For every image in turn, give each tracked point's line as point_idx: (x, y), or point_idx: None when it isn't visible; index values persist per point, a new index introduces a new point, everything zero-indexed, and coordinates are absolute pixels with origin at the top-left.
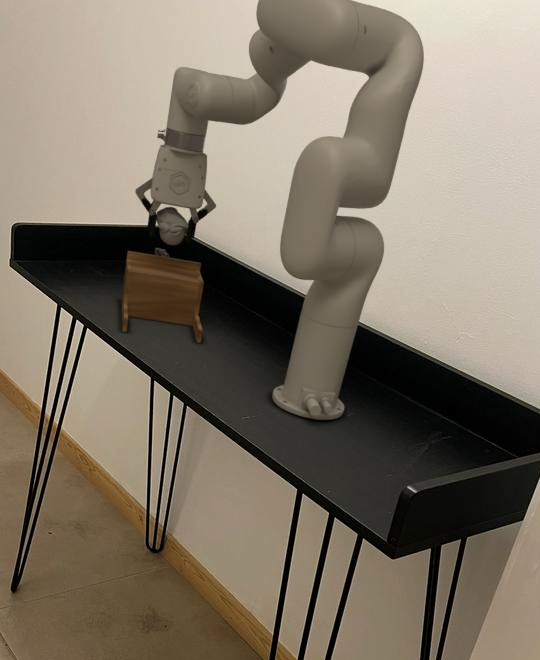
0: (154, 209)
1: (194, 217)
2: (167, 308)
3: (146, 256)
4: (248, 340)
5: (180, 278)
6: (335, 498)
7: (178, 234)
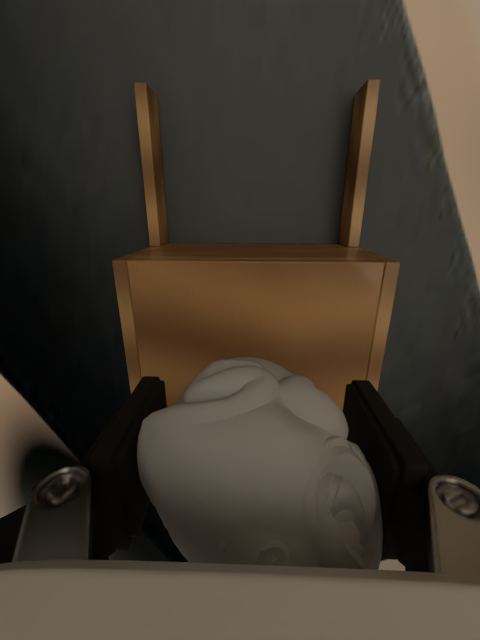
0: (458, 523)
1: (65, 503)
2: (236, 247)
3: None
4: (22, 191)
5: (199, 272)
6: None
7: (212, 363)
